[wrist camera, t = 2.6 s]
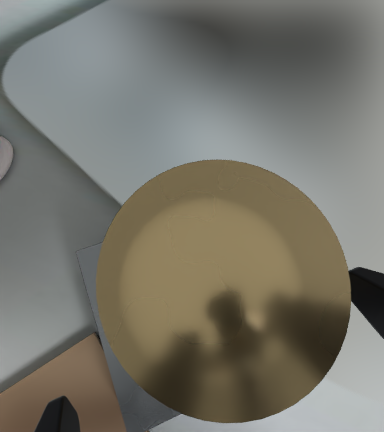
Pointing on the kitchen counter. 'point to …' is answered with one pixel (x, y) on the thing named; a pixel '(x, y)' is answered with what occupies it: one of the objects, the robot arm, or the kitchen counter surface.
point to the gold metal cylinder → (223, 291)
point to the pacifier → (5, 156)
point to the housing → (123, 383)
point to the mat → (66, 391)
